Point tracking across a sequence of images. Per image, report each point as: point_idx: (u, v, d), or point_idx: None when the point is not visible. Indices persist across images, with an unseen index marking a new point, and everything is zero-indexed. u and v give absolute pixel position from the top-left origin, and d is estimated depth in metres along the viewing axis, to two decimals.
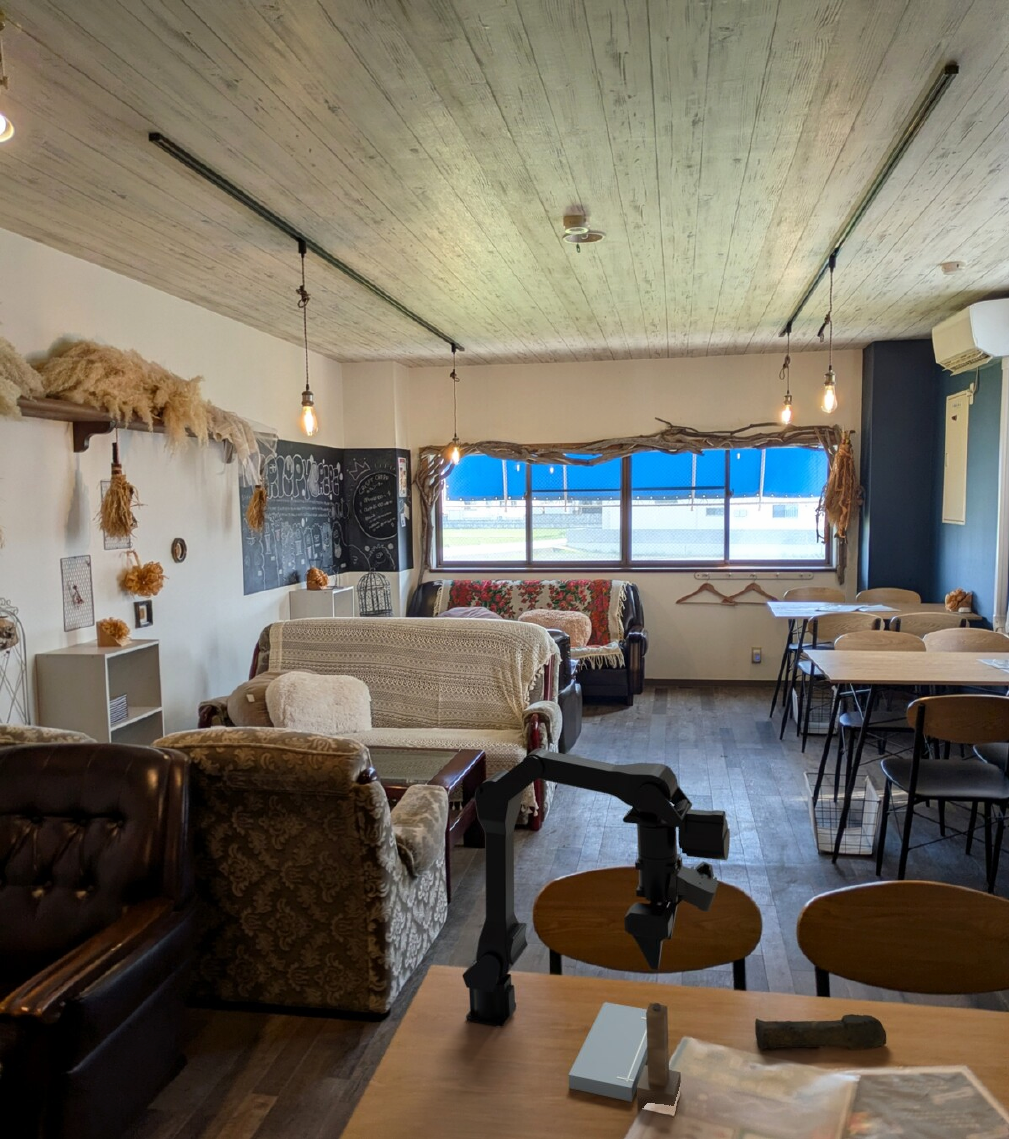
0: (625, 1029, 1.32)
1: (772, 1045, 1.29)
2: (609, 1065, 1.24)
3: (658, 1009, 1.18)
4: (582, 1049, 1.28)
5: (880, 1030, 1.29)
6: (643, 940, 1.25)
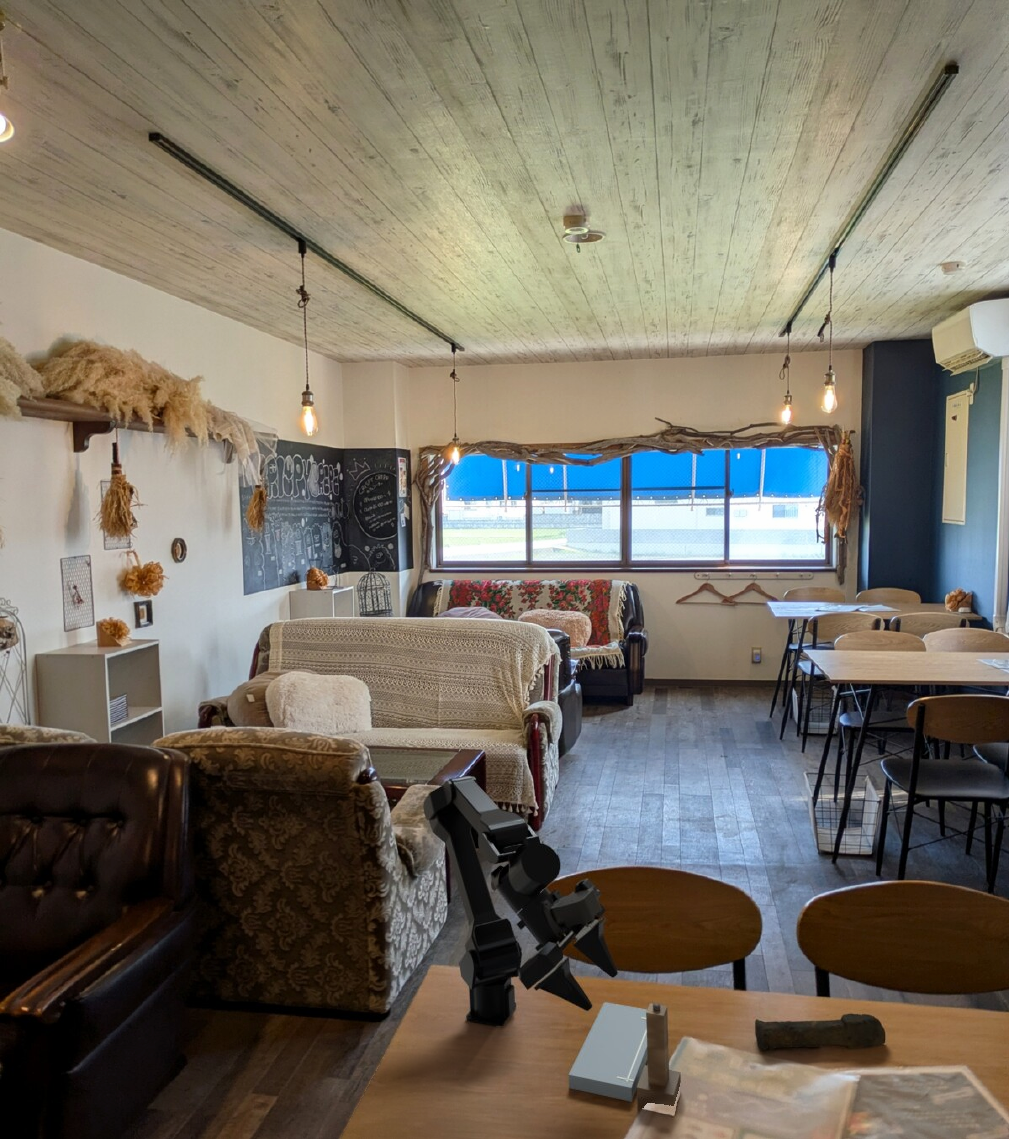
0: (625, 1029, 1.32)
1: (772, 1045, 1.29)
2: (609, 1065, 1.24)
3: (658, 1009, 1.18)
4: (582, 1049, 1.28)
5: (879, 1029, 1.29)
6: (557, 988, 1.19)
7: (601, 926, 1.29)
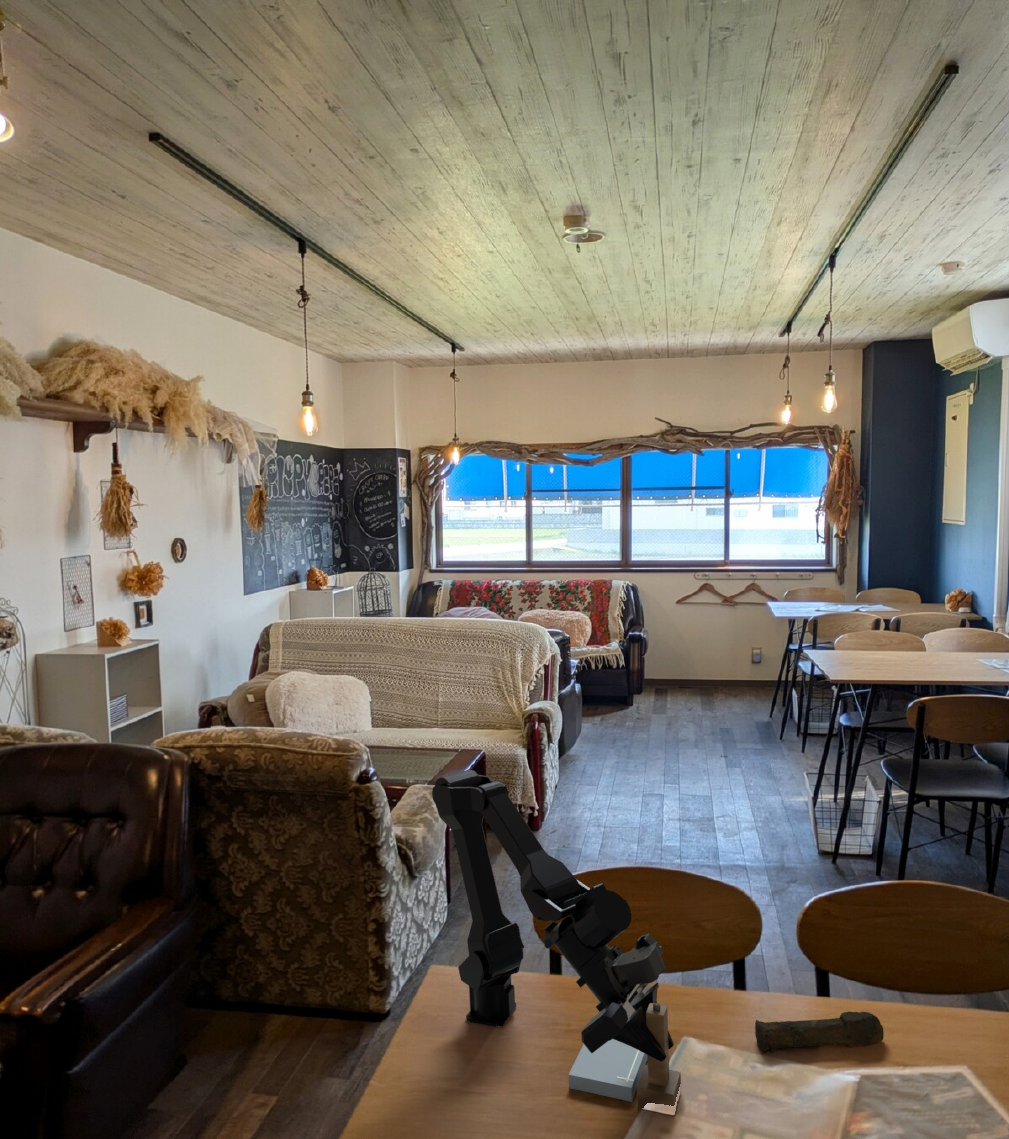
0: None
1: (773, 1046, 1.28)
2: (609, 1065, 1.24)
3: (658, 1009, 1.18)
4: (582, 1049, 1.28)
5: (878, 1026, 1.30)
6: (630, 1038, 1.18)
7: (655, 993, 1.22)
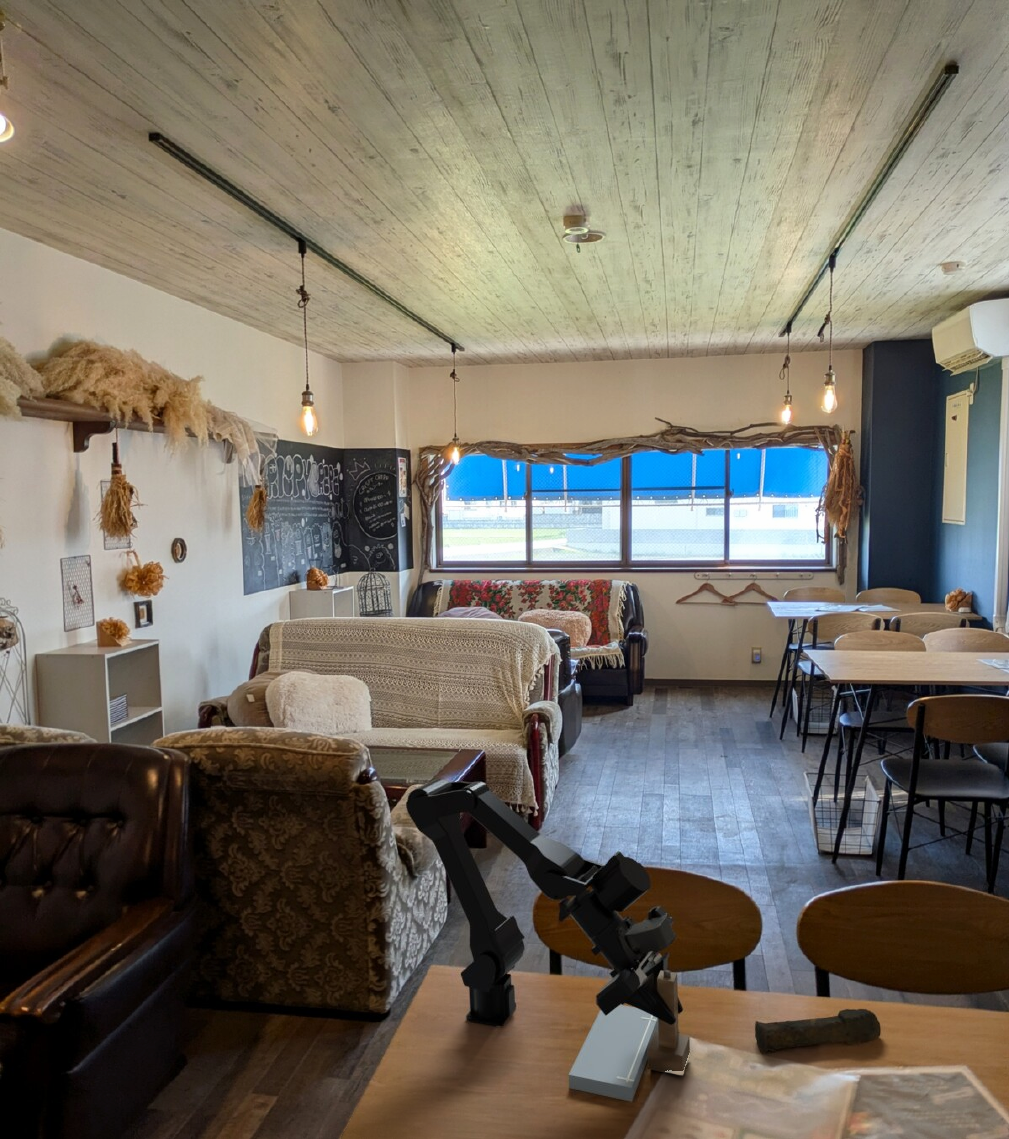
0: (625, 1029, 1.32)
1: (775, 1047, 1.28)
2: (609, 1065, 1.24)
3: (668, 975, 1.25)
4: (582, 1049, 1.28)
5: (875, 1023, 1.31)
6: (642, 1002, 1.25)
7: (665, 962, 1.29)
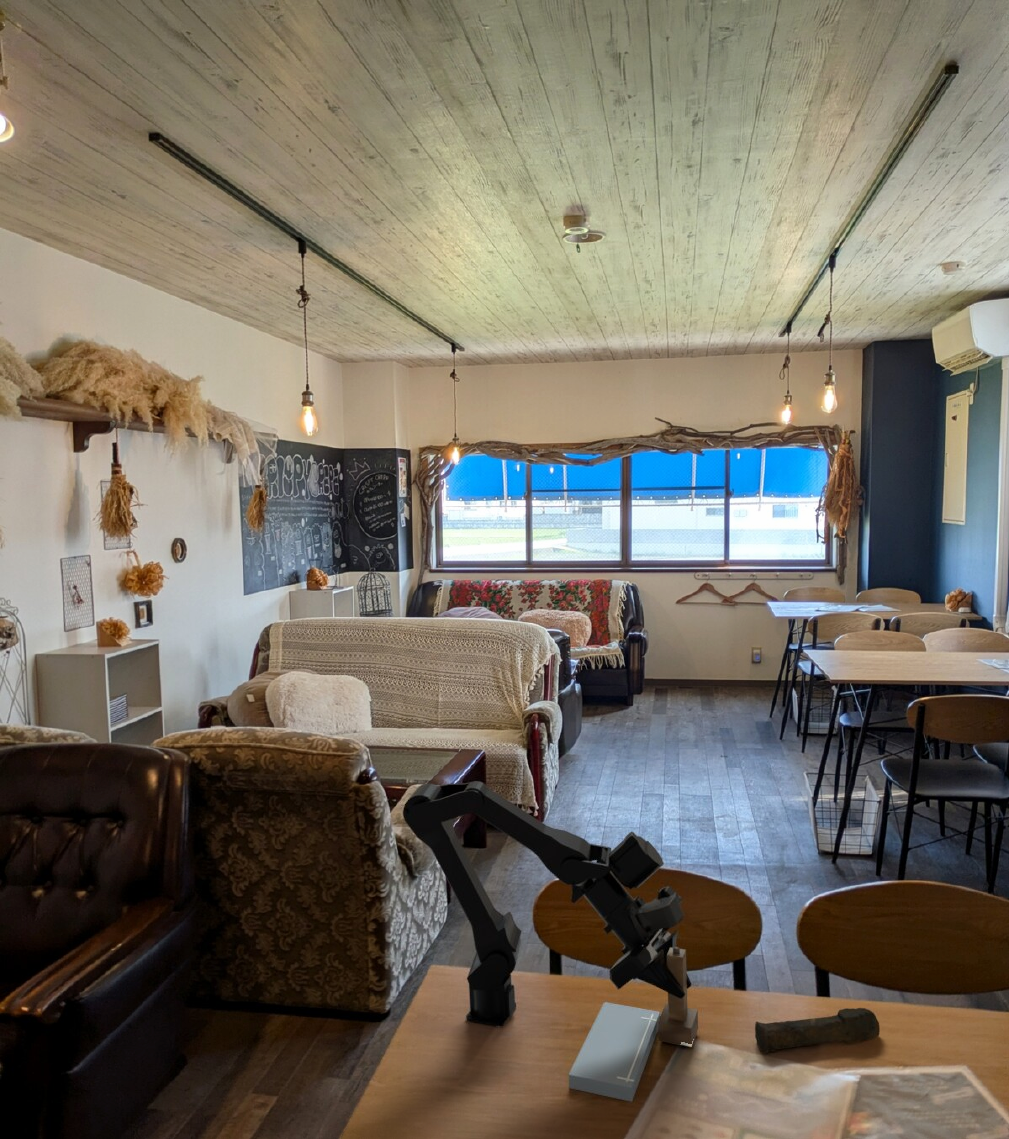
0: (625, 1029, 1.32)
1: (775, 1047, 1.28)
2: (609, 1065, 1.24)
3: (678, 952, 1.32)
4: (582, 1049, 1.28)
5: (874, 1021, 1.31)
6: (652, 977, 1.31)
7: (674, 939, 1.35)
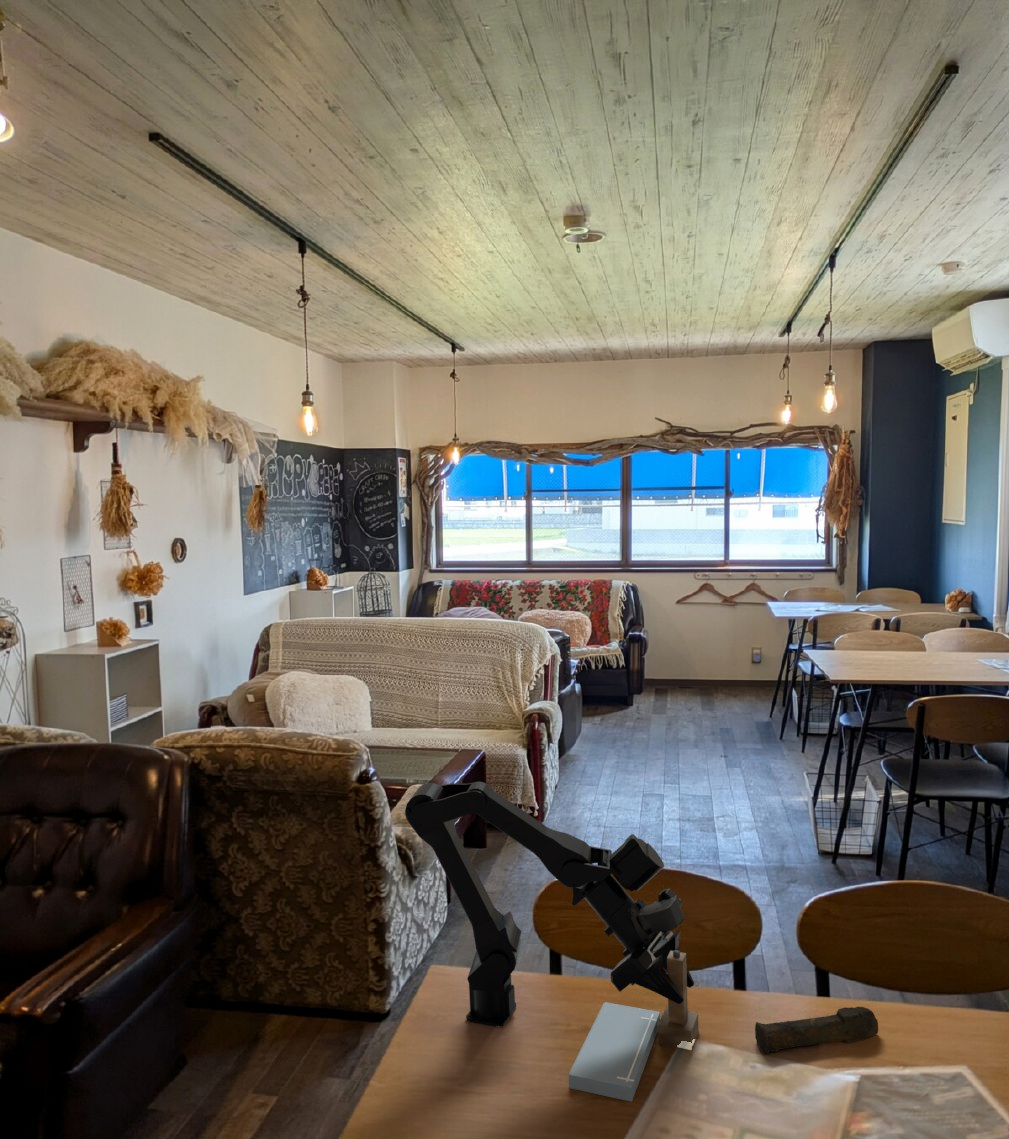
0: (625, 1029, 1.32)
1: (776, 1047, 1.28)
2: (609, 1065, 1.24)
3: (678, 955, 1.32)
4: (582, 1049, 1.28)
5: (873, 1020, 1.31)
6: (651, 983, 1.31)
7: (677, 939, 1.36)
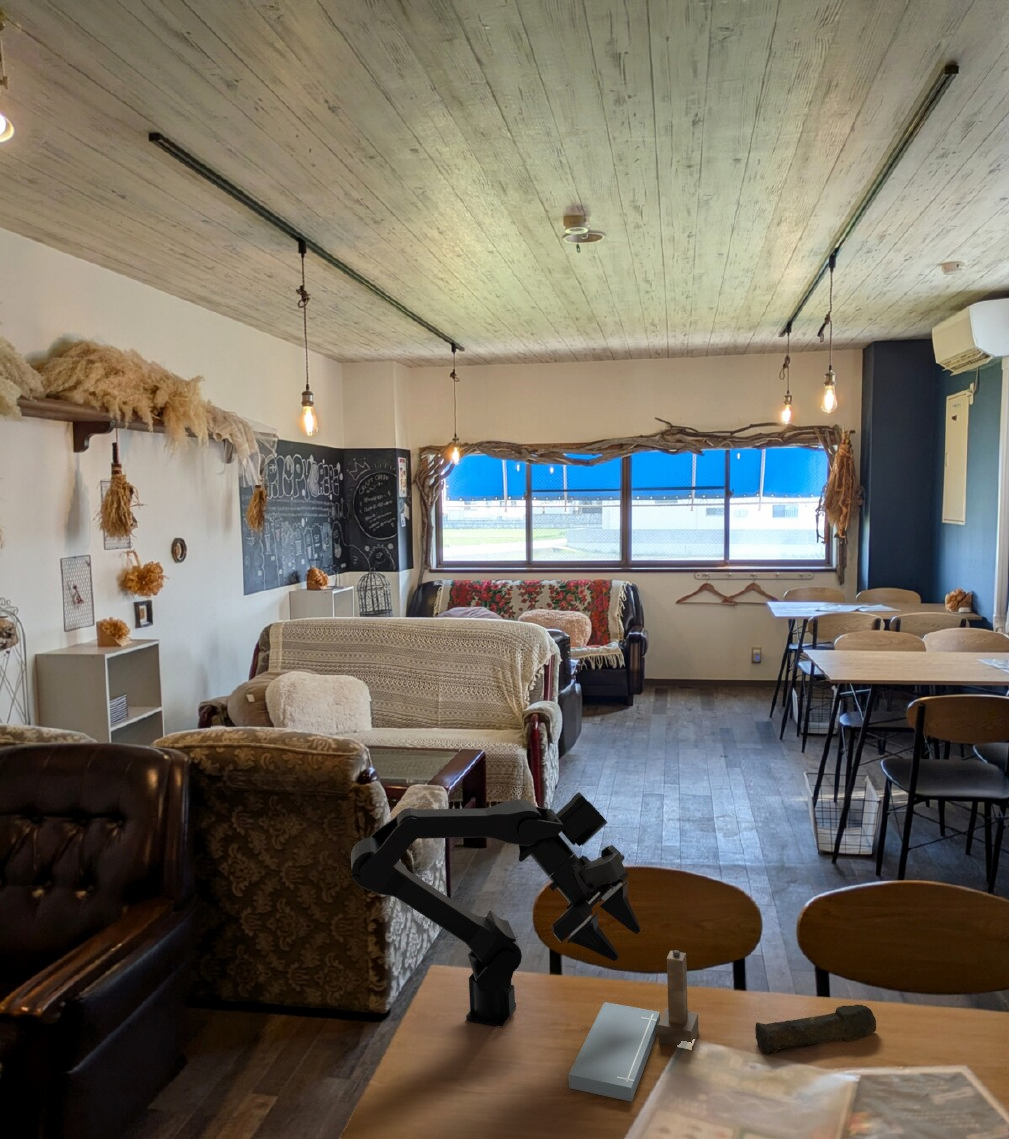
0: (625, 1029, 1.32)
1: (777, 1047, 1.28)
2: (609, 1065, 1.24)
3: (677, 955, 1.32)
4: (582, 1049, 1.28)
5: (871, 1018, 1.32)
6: (587, 941, 1.33)
7: (625, 888, 1.43)
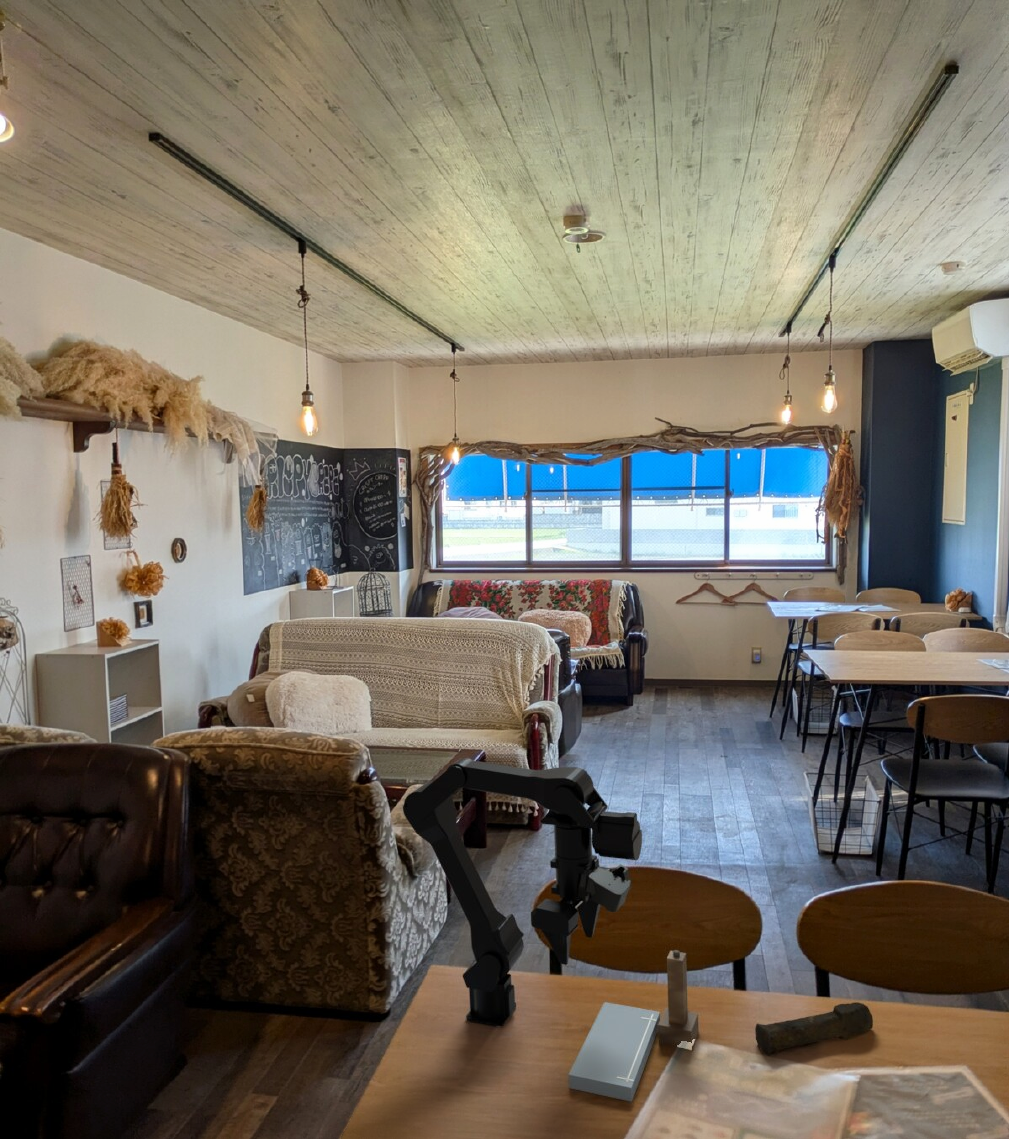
0: (625, 1029, 1.32)
1: (778, 1048, 1.28)
2: (609, 1065, 1.24)
3: (678, 955, 1.32)
4: (582, 1049, 1.28)
5: (868, 1015, 1.33)
6: (551, 935, 1.30)
7: None
